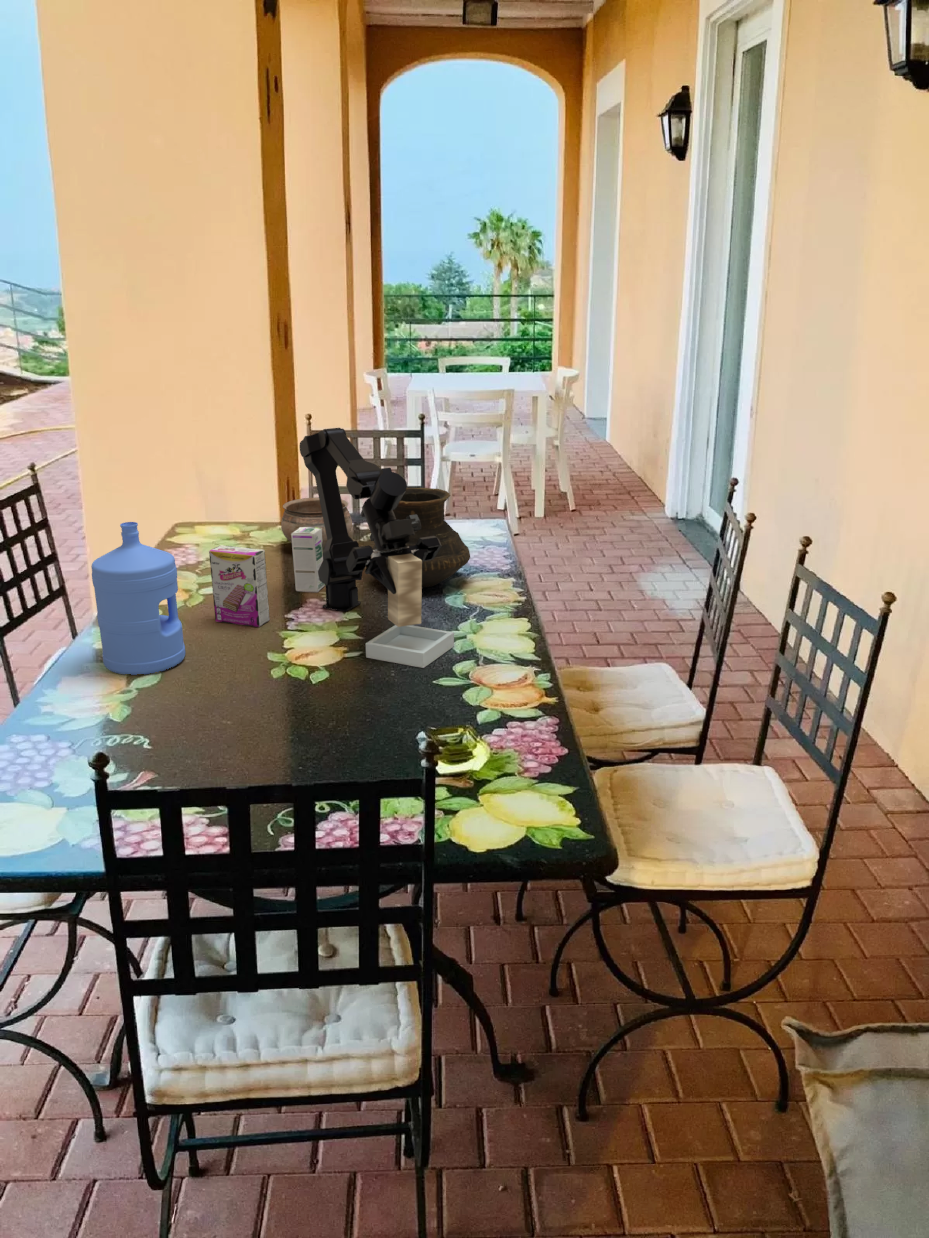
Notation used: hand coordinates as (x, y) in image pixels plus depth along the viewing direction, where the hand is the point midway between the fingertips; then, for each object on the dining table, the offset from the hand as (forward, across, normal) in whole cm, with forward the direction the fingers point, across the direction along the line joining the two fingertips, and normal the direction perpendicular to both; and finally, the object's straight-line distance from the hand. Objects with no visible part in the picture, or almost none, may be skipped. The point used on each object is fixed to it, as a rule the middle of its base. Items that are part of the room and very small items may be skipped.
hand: (407, 591), depth 204 cm
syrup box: (-26, -2, +46) cm, 53 cm away
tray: (+8, +1, +10) cm, 14 cm away
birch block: (+4, 0, +6) cm, 7 cm away
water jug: (-6, -47, +26) cm, 54 cm away
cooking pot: (-48, +12, +68) cm, 85 cm away
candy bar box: (-15, -23, +35) cm, 45 cm away
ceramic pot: (-19, +23, +39) cm, 49 cm away
